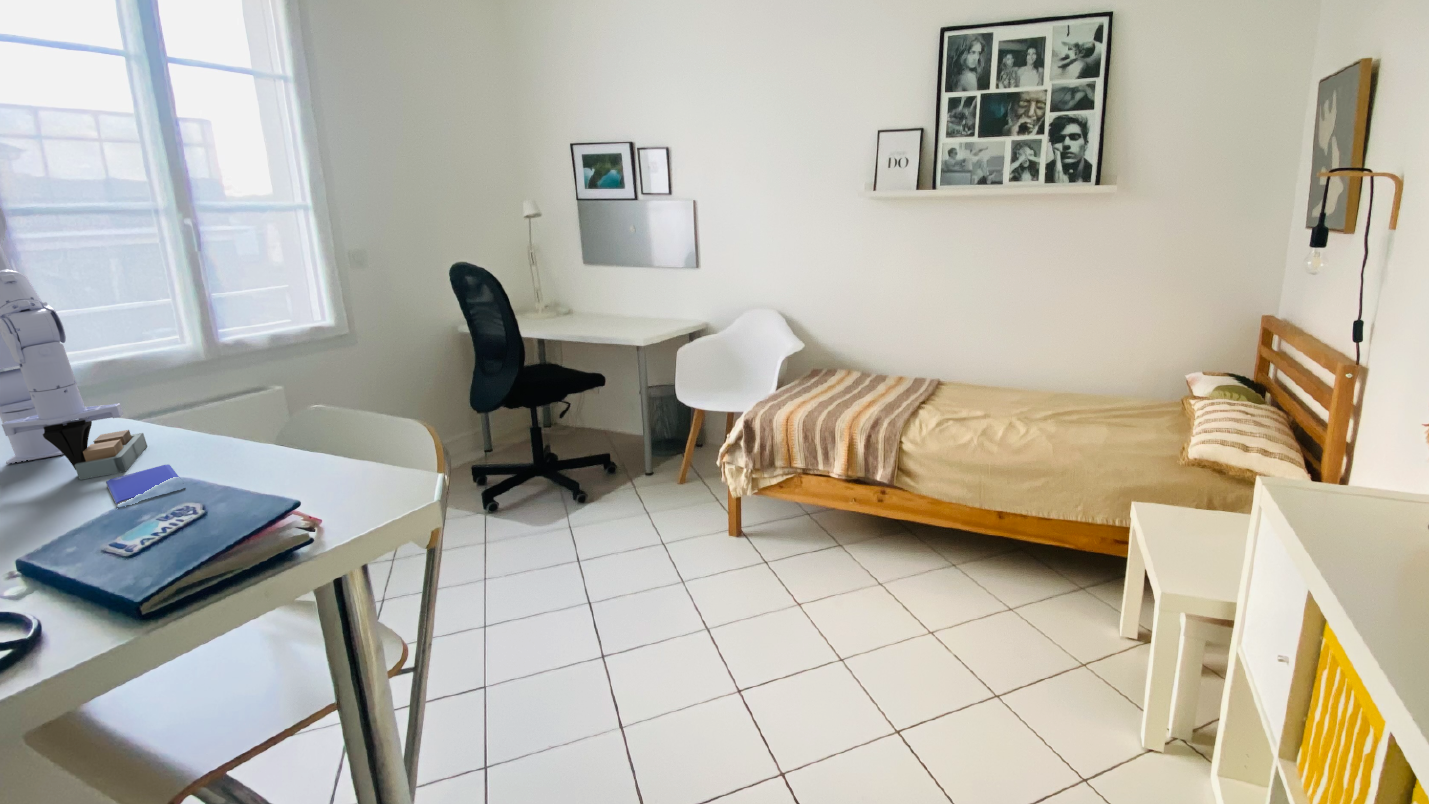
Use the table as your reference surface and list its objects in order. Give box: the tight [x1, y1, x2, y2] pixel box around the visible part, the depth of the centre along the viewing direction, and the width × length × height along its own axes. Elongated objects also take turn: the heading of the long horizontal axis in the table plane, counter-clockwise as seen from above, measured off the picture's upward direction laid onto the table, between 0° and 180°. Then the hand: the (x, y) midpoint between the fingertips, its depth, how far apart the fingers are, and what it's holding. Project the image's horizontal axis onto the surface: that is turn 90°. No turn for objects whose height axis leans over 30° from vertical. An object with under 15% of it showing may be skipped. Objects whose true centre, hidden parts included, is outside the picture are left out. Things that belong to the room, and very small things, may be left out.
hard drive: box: [106, 463, 180, 506], centre depth 110 cm, size 2×8×12 cm
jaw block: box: [83, 440, 123, 462], centre depth 119 cm, size 4×4×4 cm
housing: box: [74, 432, 148, 481], centre depth 122 cm, size 14×6×2 cm, turn 25°
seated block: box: [93, 429, 132, 445], centre depth 125 cm, size 4×4×4 cm
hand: (82, 467), depth 118 cm, fingers closed
